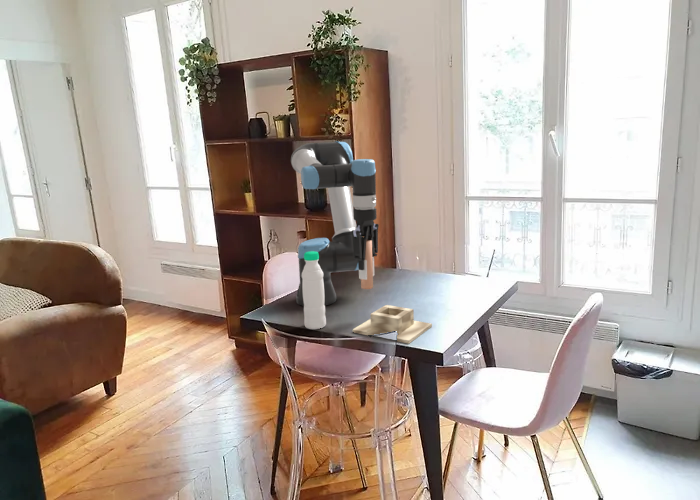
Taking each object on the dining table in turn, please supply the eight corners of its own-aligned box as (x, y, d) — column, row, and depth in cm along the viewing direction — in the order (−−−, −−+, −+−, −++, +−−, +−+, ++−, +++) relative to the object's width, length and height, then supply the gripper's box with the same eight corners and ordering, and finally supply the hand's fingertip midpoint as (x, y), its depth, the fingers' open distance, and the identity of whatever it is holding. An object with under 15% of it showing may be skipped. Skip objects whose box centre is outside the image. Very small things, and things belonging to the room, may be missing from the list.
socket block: (352, 332, 173) (351, 314, 172) (378, 317, 186) (377, 300, 185) (409, 343, 162) (408, 324, 161) (432, 326, 175) (431, 308, 174)
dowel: (358, 288, 182) (357, 241, 179) (365, 285, 186) (363, 239, 182) (369, 289, 180) (367, 242, 176) (375, 286, 183) (374, 240, 180)
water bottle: (326, 321, 183) (322, 249, 178) (326, 329, 177) (322, 254, 171) (305, 323, 183) (300, 250, 178) (304, 330, 176) (299, 255, 171)
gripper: (360, 212, 168) (362, 285, 173) (387, 204, 181) (389, 272, 187) (340, 211, 172) (343, 282, 177) (368, 203, 185) (370, 269, 191)
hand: (366, 276), depth 182 cm, fingers closed on dowel, 4 cm apart
